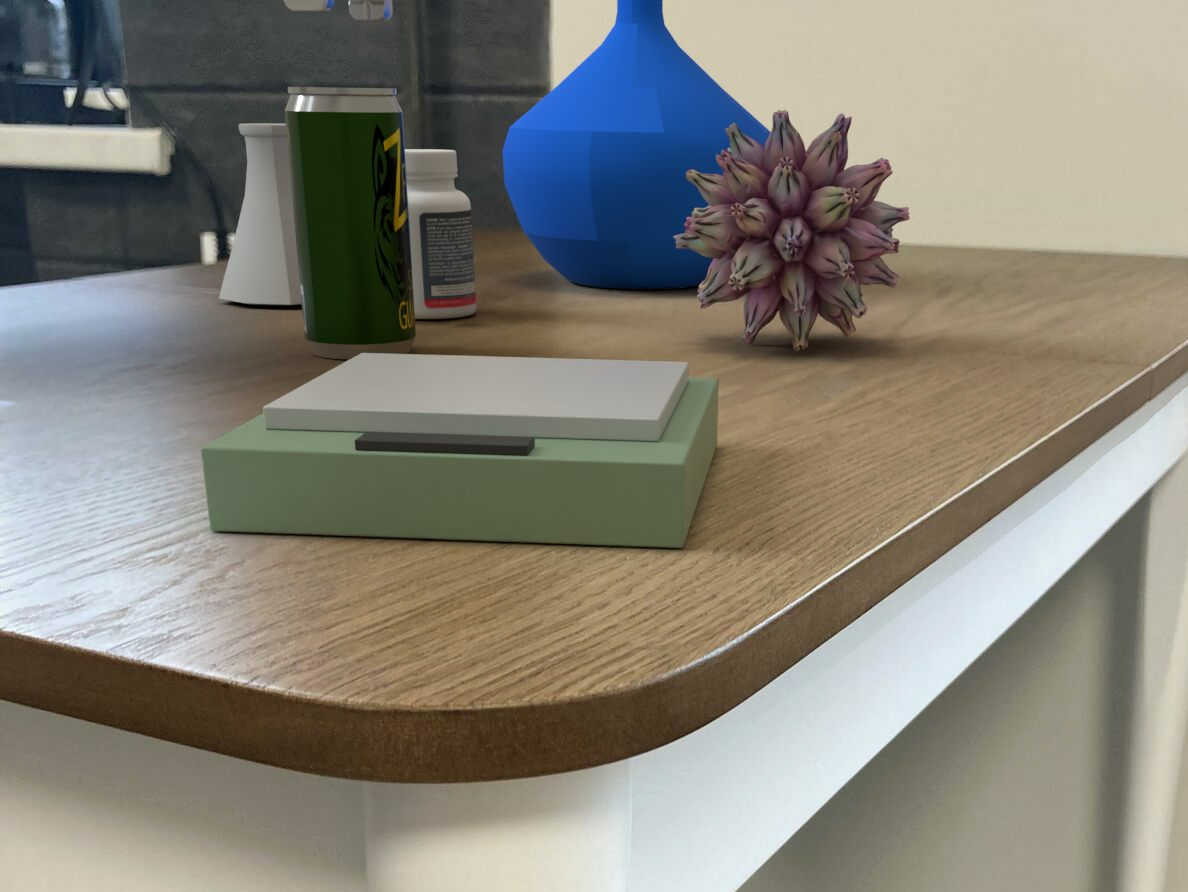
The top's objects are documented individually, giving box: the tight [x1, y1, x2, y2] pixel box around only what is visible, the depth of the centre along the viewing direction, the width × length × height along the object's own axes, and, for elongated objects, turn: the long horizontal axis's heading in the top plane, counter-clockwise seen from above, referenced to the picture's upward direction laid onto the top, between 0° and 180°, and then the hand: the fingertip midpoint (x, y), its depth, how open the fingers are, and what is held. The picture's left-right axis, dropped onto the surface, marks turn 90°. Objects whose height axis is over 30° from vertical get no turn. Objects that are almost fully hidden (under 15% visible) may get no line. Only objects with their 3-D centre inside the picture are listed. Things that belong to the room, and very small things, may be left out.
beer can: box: [284, 86, 417, 361], centre depth 73 cm, size 5×5×12 cm
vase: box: [502, 0, 771, 291], centre depth 101 cm, size 18×18×19 cm
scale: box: [200, 353, 719, 549], centre depth 50 cm, size 14×14×3 cm
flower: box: [674, 109, 910, 352], centre depth 77 cm, size 12×12×12 cm
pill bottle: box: [405, 148, 477, 320], centre depth 86 cm, size 5×5×9 cm
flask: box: [218, 122, 302, 306], centre depth 90 cm, size 7×7×10 cm
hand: (342, 16), depth 69 cm, fingers open, 8 cm apart
